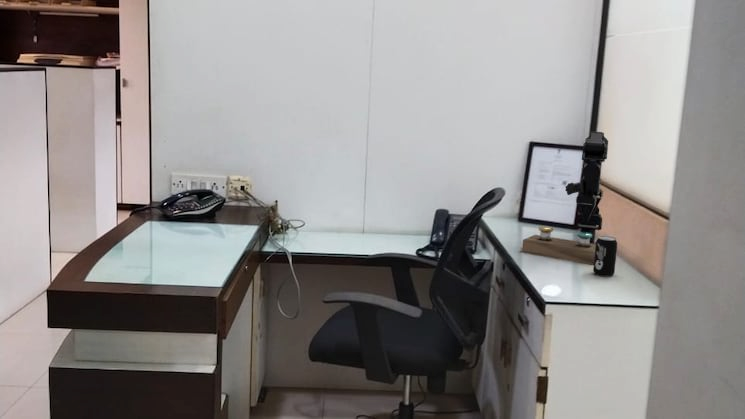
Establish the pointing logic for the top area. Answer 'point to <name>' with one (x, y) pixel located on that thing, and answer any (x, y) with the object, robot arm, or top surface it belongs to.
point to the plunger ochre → (545, 233)
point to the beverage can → (605, 256)
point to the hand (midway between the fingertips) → (587, 219)
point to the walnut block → (559, 249)
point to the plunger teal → (584, 239)
